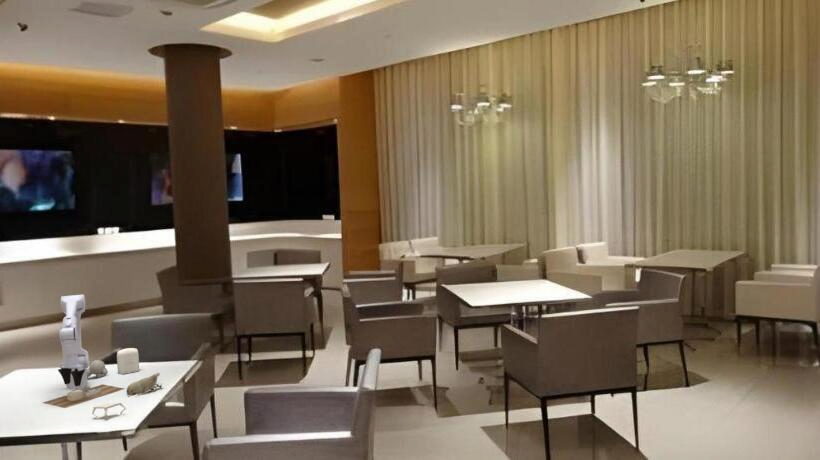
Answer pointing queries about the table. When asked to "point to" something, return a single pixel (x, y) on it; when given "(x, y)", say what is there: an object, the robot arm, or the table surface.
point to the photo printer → (127, 361)
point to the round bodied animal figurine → (97, 369)
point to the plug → (75, 394)
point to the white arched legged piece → (106, 406)
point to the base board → (66, 403)
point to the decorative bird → (143, 385)
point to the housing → (90, 392)
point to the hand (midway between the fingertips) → (72, 384)
